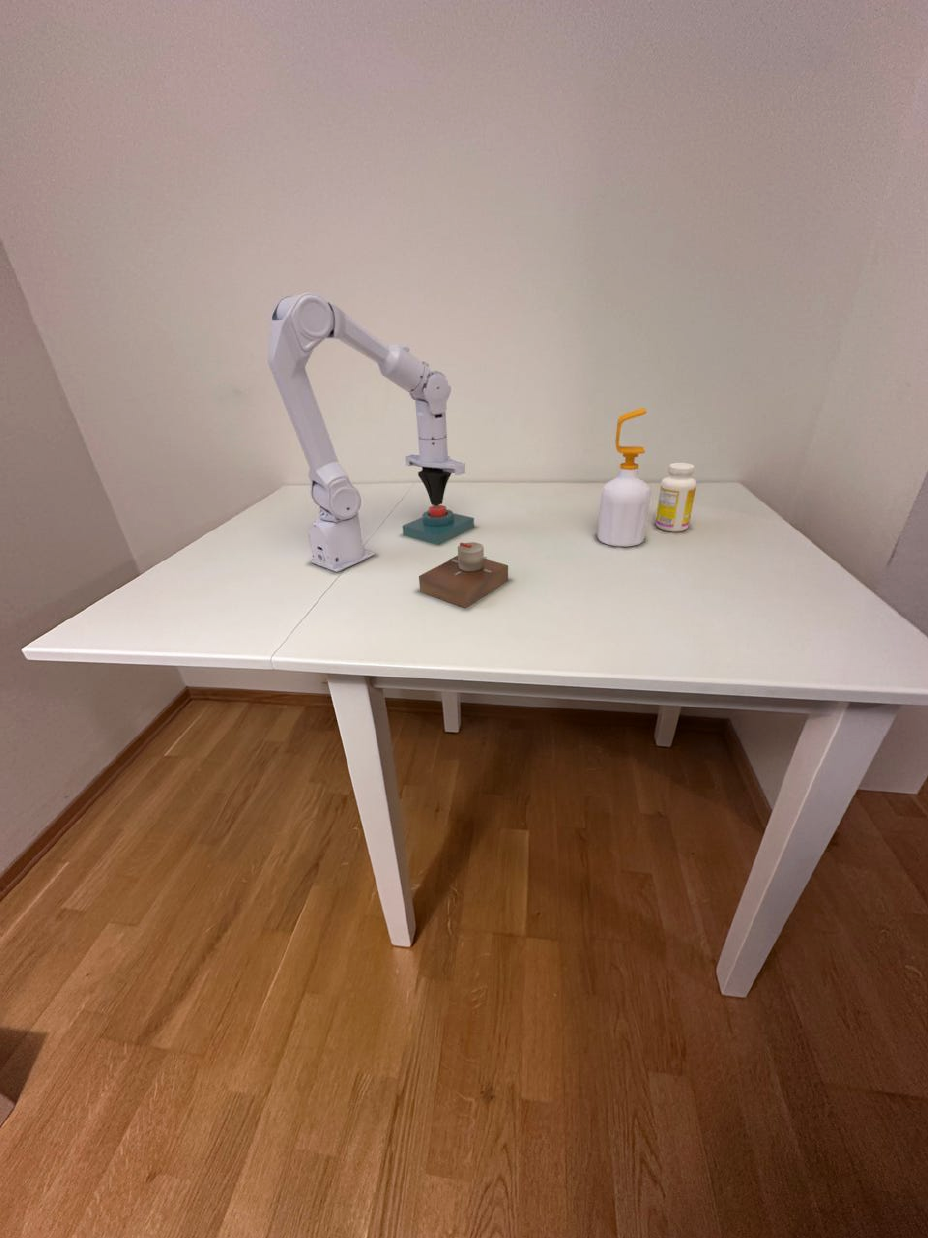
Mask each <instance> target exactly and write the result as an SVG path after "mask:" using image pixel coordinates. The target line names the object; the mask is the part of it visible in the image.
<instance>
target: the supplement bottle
mask: <svg viewBox="0 0 928 1238" xmlns="http://www.w3.org/2000/svg"><path fill="white" fill-rule="evenodd" d="M694 472H695V465H694V464H692V463H688V462H674V463H673V462H672V463H669V465H668V475H667V476H665V477H663V479H662V480H661V484H660V488H659V489H660V490H659V498H658V503H657V509H656V517H655V526H656V527H657V528H658V529H660V530H661V531H666V532H683V531H685V530H687V529H688V528H689V527H690V523H691V518H692V516H691V515H692V511H693V507H694V501H695V500H694V499H695V495H696V489H697V484H698V483H697V480H696V479H695V478H694V477H692V476H693V474H694Z"/></svg>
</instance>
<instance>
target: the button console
mask: <svg viewBox="0 0 928 1238" xmlns="http://www.w3.org/2000/svg"><path fill="white" fill-rule="evenodd" d="M474 528H475V518H474V517H471V516H467V515H463V514H460V513H459V514H458V513H454V511H452V510H451V509H448V508H446V515H445V516H443V517H431V516H430V513H429V509H428V510H426V511H424V512H423V513H422V516H421V517H419V518H417V519H415V520H413V521H410V522H408V523H406V524H403V525H402V532H403V536H405V537H409V538H412V539H415V540H419V541H423V542H426V543H429V544H431V545H432V544H433V545H436V546H439V545H441V544H443V543H445V542H448V541H450V540H452V539H453V538H456V537H457V536H460V535H461V534H463V533H466V532H468V531H470V530H472V529H474Z"/></svg>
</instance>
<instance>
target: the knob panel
mask: <svg viewBox="0 0 928 1238" xmlns="http://www.w3.org/2000/svg"><path fill="white" fill-rule="evenodd" d="M508 581H509V565H508V564H505V563H502V562H498V561H495V560H491V559H488V557H487V556H484V567H483V568H482V569H480V570H477V571H464V570H461V569H460V568H459V564H458V555H455V556H454V557H452V558H450V559H448V560H446V561H445V562H443V563H441V564H439V565H436V566H435V567H433V568H432V569H430V570H427V571H426V572H424V573H422V574H420V575H419V576H418V583H419V592H420V593H423V594H426V595H428V596H431V597H434V598H436V599H439V600H442V601H444V602H447V603H450V604H452V605H455V606H457V607H461V608H463V609H467V608H468V607H469V606H472V605H473V604H474V603H476V602H478V601H479V600H481V599H482V598H483V597H485V596H486V595H489V594H490V593H491V592H493V591H494V590H496V589H498V588H499V587H500V586H502V585H503V584H505V583H507V582H508Z"/></svg>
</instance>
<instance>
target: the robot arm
mask: <svg viewBox="0 0 928 1238" xmlns="http://www.w3.org/2000/svg"><path fill="white" fill-rule="evenodd" d="M268 319H269V325H270V331H269V340H268V348H267V363H268V366H269V370H270V371H271V374H272V377H273V379H274V381H275V384H276V387H277V389H278V392H279V394H280V396H281V399H282V402H283V404H284V407H285V410H286V412H287V414H288V417H289V420H290V422H291V424H292V427H293V429H294V432H295V435H296V437H297V440H298V442H299V444H300V447H301V449H302V452H303V455H304V457H305V459H306V462H307V464H308V467H309V469H308V472H307V473H308V474H307V475H308V478H309V482H310V496H311V499H312V500H313V502H314V504H315V505H317V506H318V507H319V510H318V519H317V520H316V521H315V522H313V523H312V524H310V525H309V526H308V530H307V531H308V532H307V534H308V539H309V540H308V541H309V546H310V549H311V553H312V559H311V563H313V564H314V565H318V566H319V567H323V568H325V569H327V570H330V571H333V572H334V573H335V572H336V573H338V572H341V571H343V570H345V569H347V568H349V567H351V566H354V565H356V564H358V563H360V562H362V561H365V560H367V559H369V558H371V557H373V556H375V553H374V552H372V551H369V550H366V549H364V544H363V538H362V531H361V530H362V529H361V525H360V518H359V517H360V516H359V510H360V509H361V505H362V496H361V494H360V491H359V490H358V489H357V488H356V487H355V486H354V485H353V484H352V482H351V481H350V477H349V475H348V473H347V471H345V469H344V467H343V466H342V465H341V463H340V461H339V460H338V456H337V454H336V451H335V448H334V446H333V443H332V440H331V436H330V434H329V431H328V429H327V426H326V423H325V420H324V418H323V414H322V412H321V409H320V407H319V404H318V401H317V398H316V396H315V393H314V390H313V387H312V383H311V382H310V379H309V376H308V373H307V370H306V365H307V363H308V362H309V360H310V358H311V355H312V354H313V352H314V350H315V349H316V348H318V346H319V345H320V344H322V342H323V341H325V340H326V339H330V340H331V339H332V340H339V341H340V342H342V343H343V344H345V345H346V346H348V347H350V348H351V349H353V350H355V351H356V352H357V353H360V354H362V355H363V356H365V357H366V358H368V359H370V360H371V361H372V362H374V363H376V364H377V365H378V368H379V372H380V375H381V376H383V377H384V378H386V379H387V380H388V381H390V382H392V383H394V384H395V385H396V386H398V387H400V388H401V389H403V390H404V391H406V392H407V393H408V395H409V396H410V398H411V400H414V403H415V404H414V405H415V412H416V413H415V416H416V427H417V428H416V429H417V439H418V440H417V441H418V452H419V455H418V454H408V455H405V456H404V458H405V465H406V466H407V467H412V466H413V467H418V468H422V469H421V470H420V471H418V472H417V476H418V478H419V479H420V481H421V482H422V484H423V485H424V487H425V490H426V492H427V494H428V499H429V501H430V504H431V506H434V505H435V506H437V505H443V501H444V495H445V491H446V487H447V484H448V482H449V480H450V477H451V476H452V474H454V475H456V476H460V475H463V474H465V473H466V467H465V466H466V465H465V463H464V462H461V461H457V460H455V459H452V458H451V456H450V455H449V452H448V451H449V450H448V431H447V430H448V429H447V411H446V410H447V402H448V400H449V398H450V396H451V392H452V386H451V385H450V384H449V381H448V380H447V377H446V375H445V374H444V373H442V372H441V371H438V370H431V368H430V364H429V363H428V362H427V361H425V360H422V361H421V360H420V359H419V358H417V357H416V356H414V355H413V354H412V353H410V352H409V351H410V348H409V347H408V346H407V345H406V344H400V345H399V344H392V345H389V346H388V345H387V344H385V343H384V342H383V341H382V340H380V339H379V338H377V336H375V335H374V334H373V333H371V332H370V331H368V330H367V329H366V328H365V327H363V326H362V325H361V324H360V323H358V321H356V320H355V319H353V318H352V317H351V316H350V315H348V314H347V313H346V312H344V311H343V310H342V308H340V307H339V306H338V305H336V304H335V303H332V302H330V301H327V300H325V298H324V297H323V296H321V295H320V294H317V293H315V292H303V293H302V294H298V295H294V294H293V295H286V296H283V297H282V298H280V299H279V300H278V301H277V303H276V305H275V306H274V308H273V310H272V312H271V313H270V315H269V318H268Z"/></svg>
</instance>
